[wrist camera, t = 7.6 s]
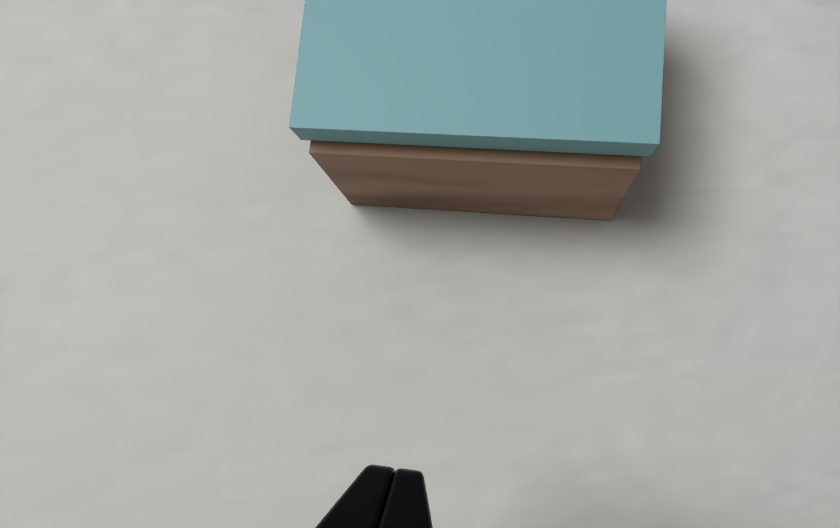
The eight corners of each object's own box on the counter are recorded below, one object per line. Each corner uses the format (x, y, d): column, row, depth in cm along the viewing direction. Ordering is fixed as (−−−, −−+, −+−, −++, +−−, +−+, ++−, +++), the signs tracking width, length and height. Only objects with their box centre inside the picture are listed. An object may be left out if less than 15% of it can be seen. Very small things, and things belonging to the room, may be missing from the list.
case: (610, 220, 21) (640, 169, 17) (351, 204, 23) (309, 152, 18) (619, 31, 23) (649, -67, 18) (374, 26, 24) (340, -66, 19)
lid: (650, 156, 16) (659, 143, 15) (301, 140, 18) (289, 127, 17) (663, -93, 17) (672, -120, 16) (329, -90, 19) (319, -114, 18)
